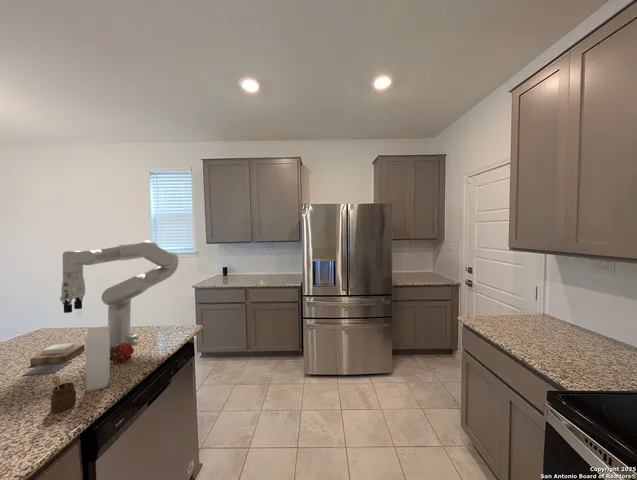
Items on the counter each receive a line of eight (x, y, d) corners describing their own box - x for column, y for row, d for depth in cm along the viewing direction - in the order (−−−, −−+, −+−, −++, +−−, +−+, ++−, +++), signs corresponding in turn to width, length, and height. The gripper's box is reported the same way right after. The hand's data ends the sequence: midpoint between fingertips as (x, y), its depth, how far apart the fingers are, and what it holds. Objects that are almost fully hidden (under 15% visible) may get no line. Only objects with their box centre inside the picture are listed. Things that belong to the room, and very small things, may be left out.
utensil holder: (80, 401, 90) (80, 366, 90) (65, 413, 84) (65, 375, 84) (60, 402, 89) (60, 367, 89) (44, 415, 83) (44, 377, 83)
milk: (106, 387, 98) (106, 328, 98) (85, 391, 96) (85, 331, 95) (109, 379, 104) (109, 323, 104) (89, 383, 101) (90, 326, 101)
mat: (71, 362, 118) (71, 361, 118) (54, 373, 109) (54, 372, 109) (42, 364, 116) (42, 363, 116) (22, 376, 106) (22, 375, 106)
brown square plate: (84, 350, 131) (84, 344, 131) (65, 362, 118) (65, 356, 118) (53, 353, 128) (53, 346, 128) (30, 365, 115) (30, 358, 115)
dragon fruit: (116, 371, 113) (122, 363, 124) (135, 355, 117) (140, 349, 128) (102, 356, 112) (109, 350, 123) (122, 341, 116) (127, 337, 126)
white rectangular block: (74, 347, 127) (74, 343, 127) (65, 352, 121) (65, 348, 121) (52, 349, 125) (52, 344, 125) (42, 354, 120) (42, 350, 120)
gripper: (69, 277, 125) (69, 315, 125) (92, 272, 142) (92, 306, 142) (50, 277, 123) (50, 316, 123) (76, 273, 140) (76, 306, 140)
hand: (73, 310), depth 133 cm, fingers open, 6 cm apart
